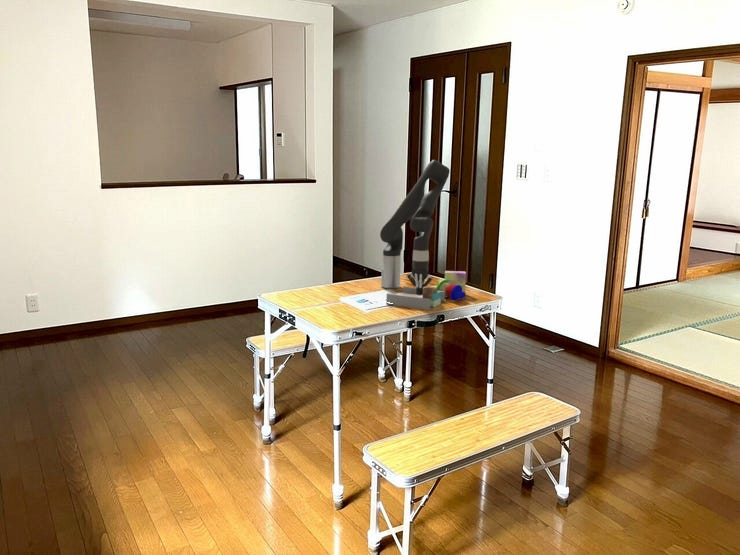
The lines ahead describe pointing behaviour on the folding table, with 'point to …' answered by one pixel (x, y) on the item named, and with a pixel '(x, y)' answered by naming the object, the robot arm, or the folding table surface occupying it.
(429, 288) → the walnut block
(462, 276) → the box
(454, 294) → the toy figure
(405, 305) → the trap track
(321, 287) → the folding table surface
